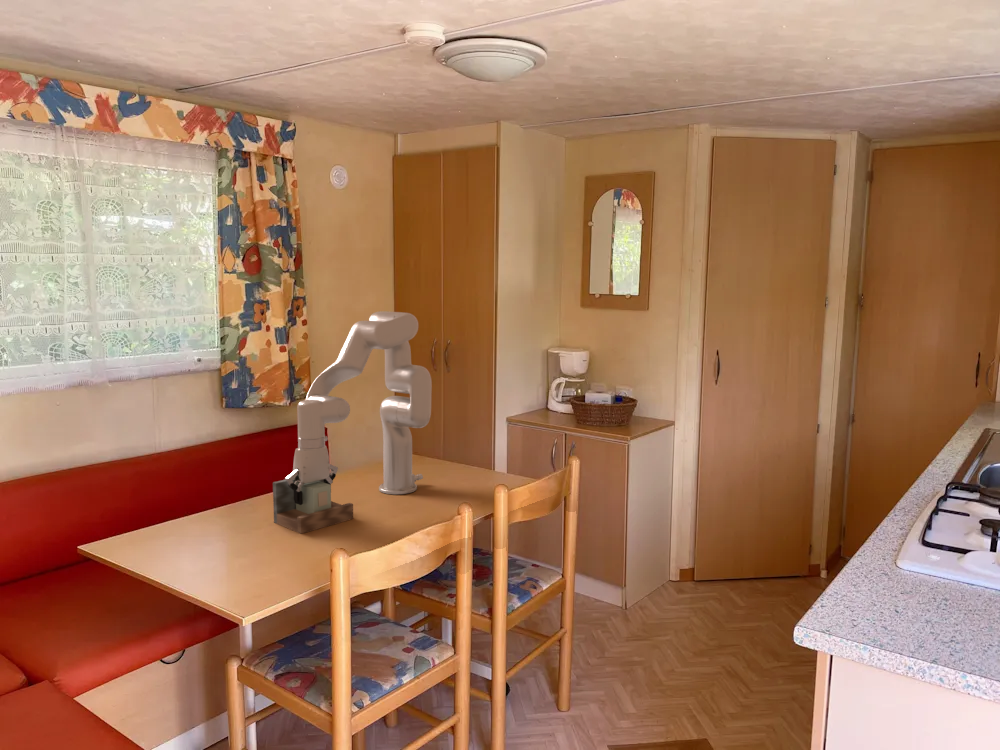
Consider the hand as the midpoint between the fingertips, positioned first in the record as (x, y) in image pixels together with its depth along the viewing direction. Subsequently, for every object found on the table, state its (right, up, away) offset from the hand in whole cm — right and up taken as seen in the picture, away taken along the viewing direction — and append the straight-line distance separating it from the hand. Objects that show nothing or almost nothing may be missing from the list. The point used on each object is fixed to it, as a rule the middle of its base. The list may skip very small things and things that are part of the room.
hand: (312, 500), depth 226 cm
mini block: (0, -3, 0) cm, 3 cm away
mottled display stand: (0, -6, +1) cm, 6 cm away
